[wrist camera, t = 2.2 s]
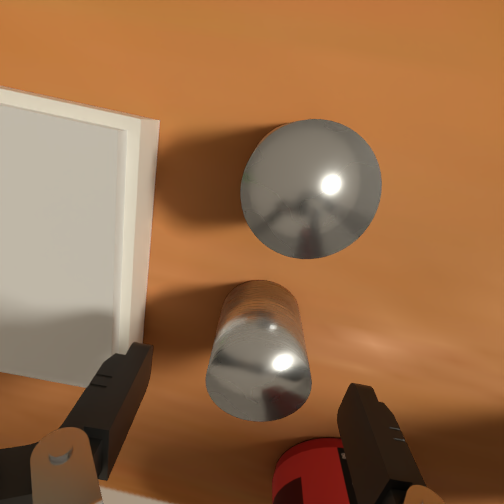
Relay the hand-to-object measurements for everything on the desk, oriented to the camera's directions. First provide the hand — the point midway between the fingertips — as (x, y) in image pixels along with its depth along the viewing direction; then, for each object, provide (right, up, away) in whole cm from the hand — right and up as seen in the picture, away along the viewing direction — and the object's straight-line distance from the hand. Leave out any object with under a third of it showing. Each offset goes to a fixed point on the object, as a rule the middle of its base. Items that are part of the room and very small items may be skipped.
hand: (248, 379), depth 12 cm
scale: (-12, +6, +4) cm, 14 cm away
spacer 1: (+2, +9, +2) cm, 9 cm away
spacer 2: (+1, +2, +5) cm, 5 cm away
